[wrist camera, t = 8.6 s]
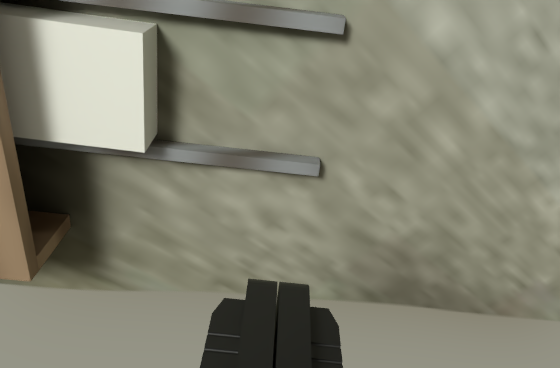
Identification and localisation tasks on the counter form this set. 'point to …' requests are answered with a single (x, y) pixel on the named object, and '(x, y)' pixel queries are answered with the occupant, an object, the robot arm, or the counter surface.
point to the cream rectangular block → (79, 77)
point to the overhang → (52, 226)
